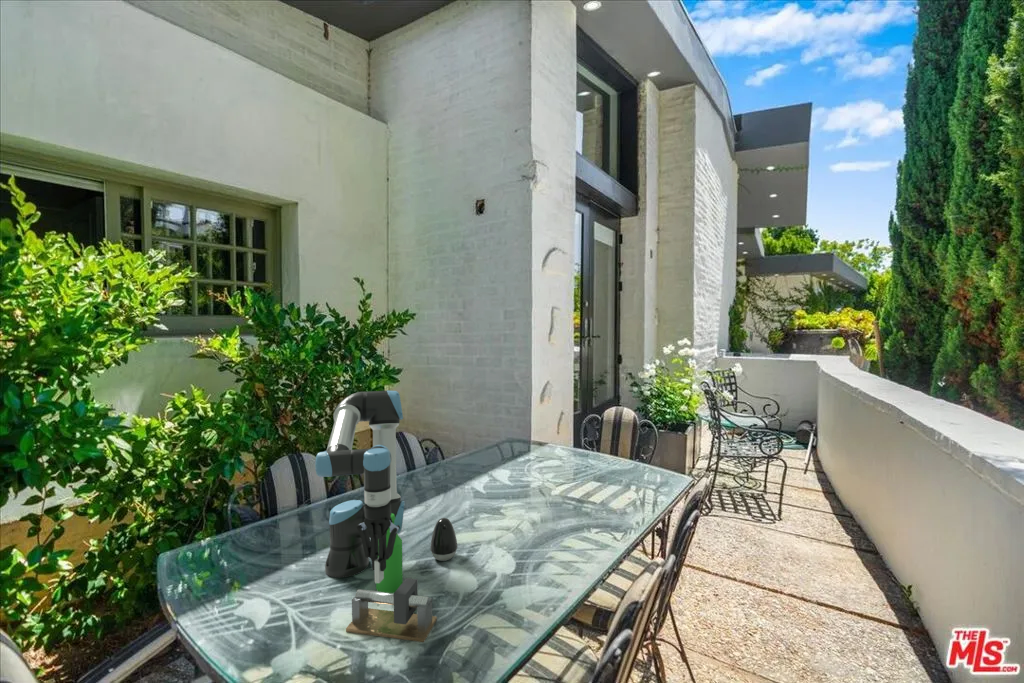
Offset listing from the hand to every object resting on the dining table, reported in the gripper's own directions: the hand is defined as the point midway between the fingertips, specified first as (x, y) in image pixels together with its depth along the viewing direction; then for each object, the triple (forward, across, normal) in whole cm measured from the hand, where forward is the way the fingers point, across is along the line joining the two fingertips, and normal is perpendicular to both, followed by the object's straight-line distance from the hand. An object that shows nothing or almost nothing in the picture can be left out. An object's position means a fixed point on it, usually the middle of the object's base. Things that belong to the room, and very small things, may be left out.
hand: (379, 580), depth 134 cm
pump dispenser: (+14, +5, +40) cm, 43 cm away
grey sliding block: (+9, +9, -1) cm, 13 cm away
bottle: (+13, -6, +17) cm, 23 cm away
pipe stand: (+13, +4, -1) cm, 13 cm away
